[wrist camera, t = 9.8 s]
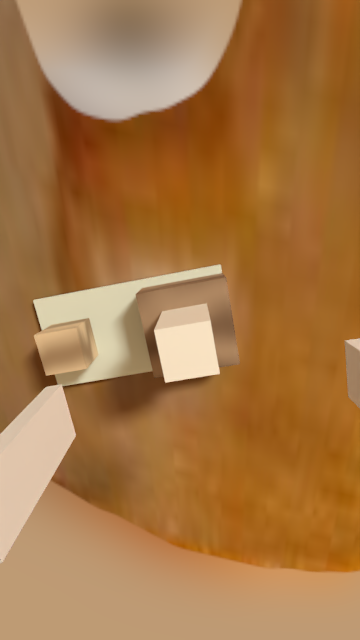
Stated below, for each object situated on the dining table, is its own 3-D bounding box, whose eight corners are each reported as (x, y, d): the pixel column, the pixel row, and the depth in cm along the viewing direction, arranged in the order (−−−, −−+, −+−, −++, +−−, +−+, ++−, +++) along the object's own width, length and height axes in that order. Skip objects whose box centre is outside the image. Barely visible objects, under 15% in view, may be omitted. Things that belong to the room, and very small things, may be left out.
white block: (161, 311, 37) (153, 330, 29) (206, 303, 37) (210, 320, 29) (170, 353, 38) (165, 382, 30) (214, 346, 38) (219, 373, 30)
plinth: (142, 287, 42) (135, 294, 37) (222, 272, 41) (226, 277, 36) (158, 362, 44) (154, 378, 39) (234, 349, 43) (239, 363, 38)
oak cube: (51, 324, 43) (33, 335, 38) (89, 317, 43) (75, 327, 38) (62, 360, 44) (45, 375, 39) (98, 354, 44) (86, 368, 39)
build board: (35, 299, 43) (33, 300, 42) (220, 264, 41) (220, 264, 41) (60, 384, 46) (58, 386, 45) (235, 355, 44) (235, 357, 43)
